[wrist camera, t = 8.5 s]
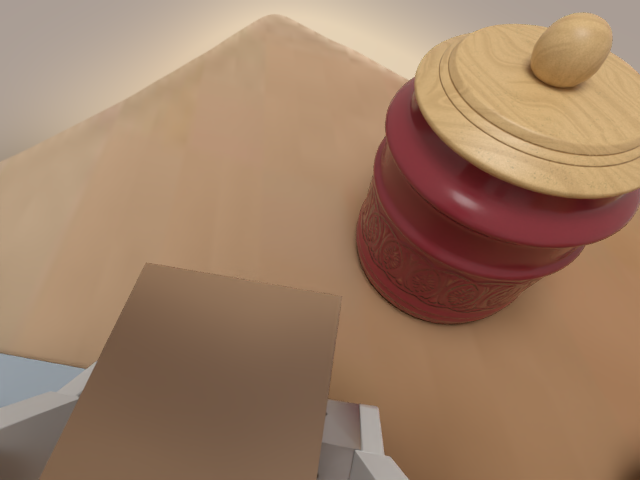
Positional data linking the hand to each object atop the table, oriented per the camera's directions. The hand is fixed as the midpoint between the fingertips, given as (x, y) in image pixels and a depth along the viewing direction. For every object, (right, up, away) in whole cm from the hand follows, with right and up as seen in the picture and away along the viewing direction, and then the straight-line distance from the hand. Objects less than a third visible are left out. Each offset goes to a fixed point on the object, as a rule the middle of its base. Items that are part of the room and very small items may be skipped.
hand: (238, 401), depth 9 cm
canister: (+11, +4, +19) cm, 22 cm away
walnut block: (0, -2, +4) cm, 5 cm away
